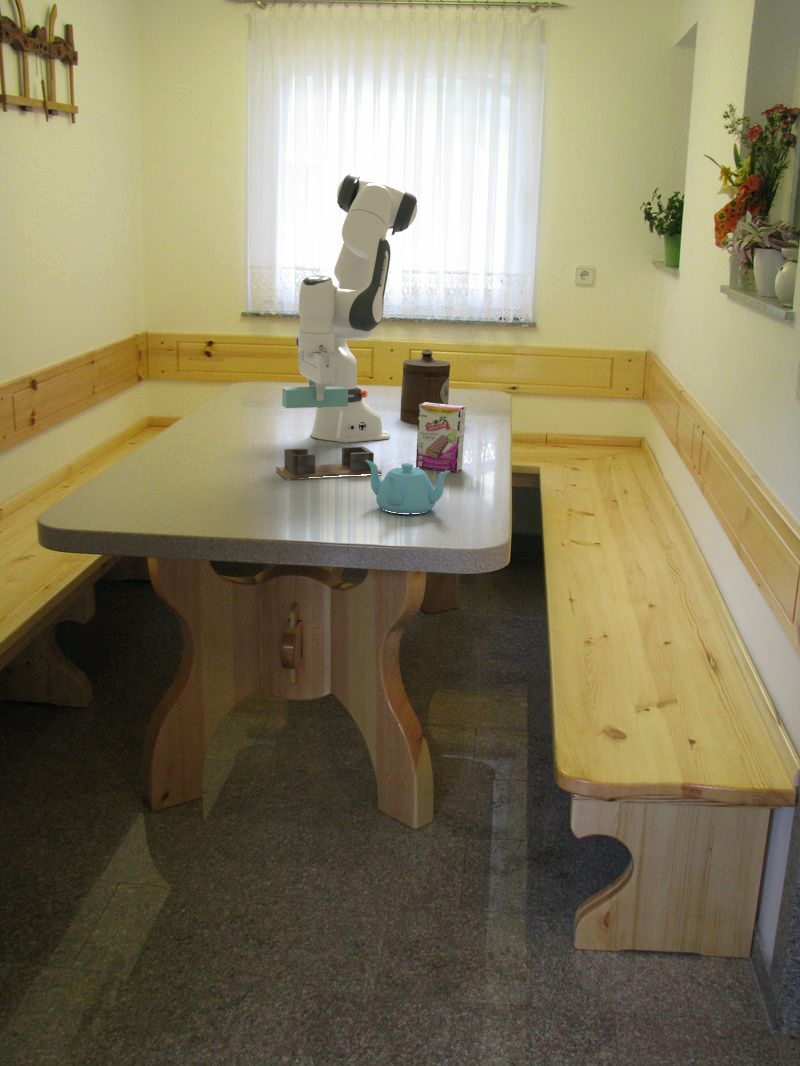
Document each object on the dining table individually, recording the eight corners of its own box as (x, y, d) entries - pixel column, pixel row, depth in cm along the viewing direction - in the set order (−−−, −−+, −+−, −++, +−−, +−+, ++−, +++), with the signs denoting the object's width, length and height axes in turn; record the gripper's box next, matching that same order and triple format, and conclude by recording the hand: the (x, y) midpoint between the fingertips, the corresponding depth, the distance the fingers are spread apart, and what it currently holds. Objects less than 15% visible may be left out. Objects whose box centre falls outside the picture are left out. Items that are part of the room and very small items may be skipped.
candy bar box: (415, 468, 281) (417, 404, 276) (421, 464, 285) (423, 401, 281) (457, 473, 277) (460, 408, 273) (462, 469, 282) (466, 405, 277)
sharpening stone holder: (368, 466, 281) (368, 445, 279) (381, 475, 272) (382, 453, 270) (276, 470, 273) (276, 448, 271) (286, 480, 264) (286, 457, 262)
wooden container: (453, 424, 341) (457, 352, 335) (408, 425, 337) (410, 352, 331) (438, 415, 355) (442, 346, 349) (394, 416, 351) (397, 346, 344)
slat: (343, 403, 284) (343, 386, 282) (347, 406, 280) (348, 388, 279) (282, 405, 278) (282, 387, 277) (286, 408, 275) (286, 390, 273)
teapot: (424, 499, 251) (426, 455, 248) (451, 516, 238) (453, 470, 235) (363, 503, 246) (364, 458, 243) (387, 521, 233) (389, 473, 230)
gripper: (341, 348, 266) (340, 405, 270) (317, 337, 285) (317, 391, 289) (315, 349, 264) (315, 406, 268) (293, 338, 283) (294, 391, 287)
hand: (316, 398), depth 279 cm, fingers closed on slat, 4 cm apart
